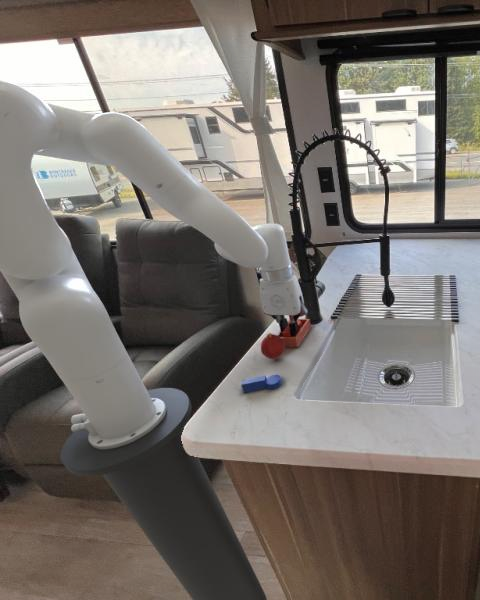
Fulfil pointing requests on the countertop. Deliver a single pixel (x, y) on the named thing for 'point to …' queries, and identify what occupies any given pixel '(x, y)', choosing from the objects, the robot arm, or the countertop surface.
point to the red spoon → (287, 330)
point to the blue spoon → (261, 383)
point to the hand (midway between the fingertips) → (290, 332)
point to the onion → (272, 346)
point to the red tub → (299, 335)
